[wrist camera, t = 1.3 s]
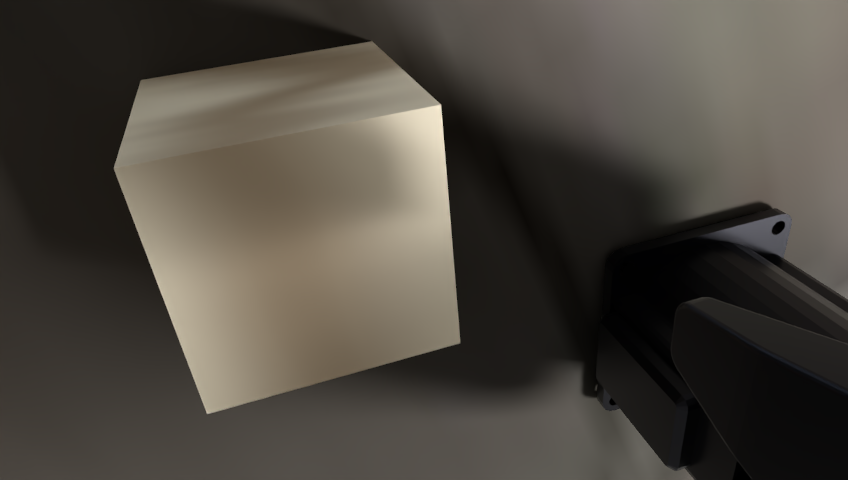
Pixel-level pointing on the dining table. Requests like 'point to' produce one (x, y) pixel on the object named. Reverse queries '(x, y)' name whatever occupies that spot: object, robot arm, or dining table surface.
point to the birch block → (293, 218)
